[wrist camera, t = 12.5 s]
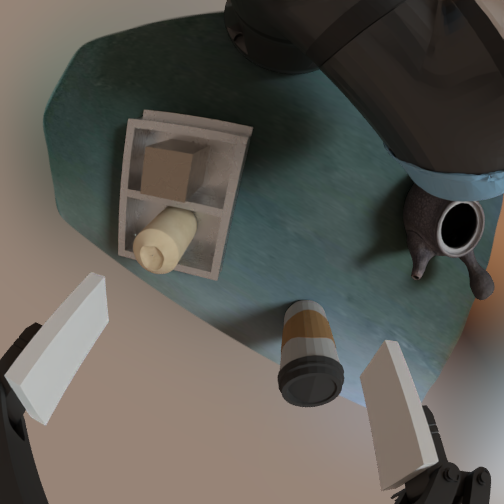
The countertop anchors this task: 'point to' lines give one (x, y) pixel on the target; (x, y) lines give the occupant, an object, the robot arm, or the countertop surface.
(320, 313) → the coffee cup
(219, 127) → the divided tray
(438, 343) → the countertop surface
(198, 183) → the block
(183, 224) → the candle
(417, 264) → the teapot
